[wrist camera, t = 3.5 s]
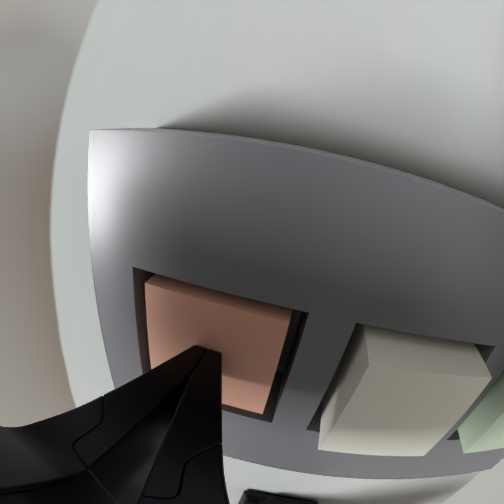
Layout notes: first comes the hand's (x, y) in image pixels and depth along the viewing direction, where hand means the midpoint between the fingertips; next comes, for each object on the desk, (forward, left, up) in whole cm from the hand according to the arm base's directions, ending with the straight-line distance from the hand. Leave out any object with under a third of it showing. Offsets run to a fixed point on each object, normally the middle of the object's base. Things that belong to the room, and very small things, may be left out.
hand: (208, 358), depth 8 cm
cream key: (0, -6, -2) cm, 6 cm away
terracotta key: (0, 0, -3) cm, 3 cm away
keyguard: (0, -6, -4) cm, 7 cm away
